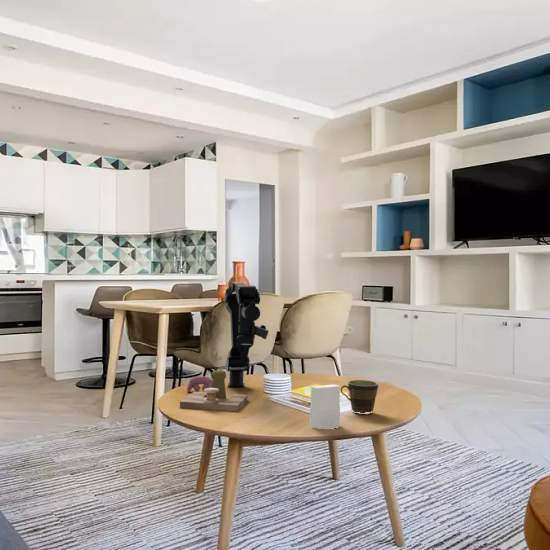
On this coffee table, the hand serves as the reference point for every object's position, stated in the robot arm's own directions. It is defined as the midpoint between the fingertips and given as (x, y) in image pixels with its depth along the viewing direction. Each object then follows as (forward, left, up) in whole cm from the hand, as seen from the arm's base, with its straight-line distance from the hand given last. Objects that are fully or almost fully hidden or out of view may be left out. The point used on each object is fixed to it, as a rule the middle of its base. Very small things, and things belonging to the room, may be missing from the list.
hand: (245, 360), depth 203 cm
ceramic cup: (+23, +39, -13) cm, 47 cm away
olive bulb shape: (+11, -9, -13) cm, 19 cm away
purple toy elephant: (-4, -17, -13) cm, 22 cm away
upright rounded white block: (+39, +26, -13) cm, 49 cm away
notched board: (+15, -10, -13) cm, 22 cm away
